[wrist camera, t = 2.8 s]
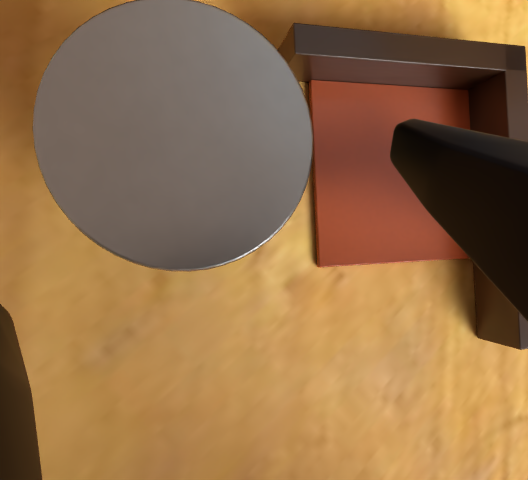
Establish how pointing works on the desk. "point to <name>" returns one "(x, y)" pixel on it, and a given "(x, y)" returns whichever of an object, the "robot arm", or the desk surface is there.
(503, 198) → the robot arm
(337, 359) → the desk surface
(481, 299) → the corner rail
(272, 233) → the tea tin
